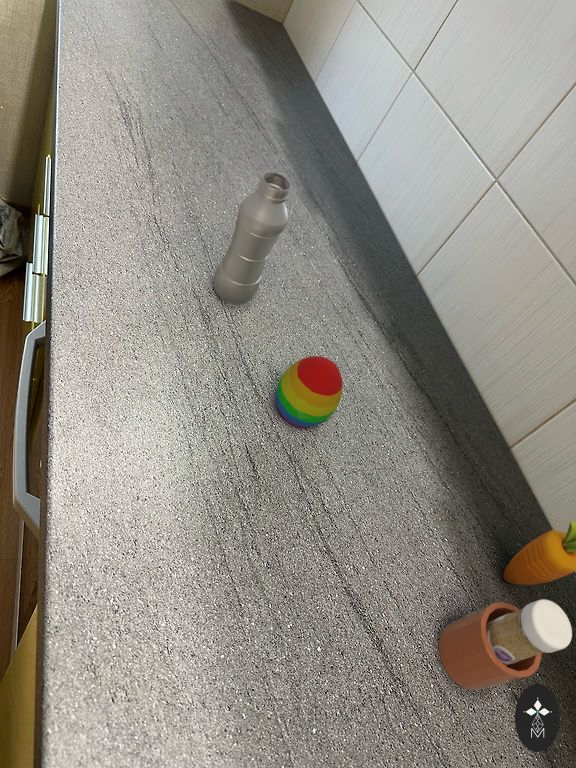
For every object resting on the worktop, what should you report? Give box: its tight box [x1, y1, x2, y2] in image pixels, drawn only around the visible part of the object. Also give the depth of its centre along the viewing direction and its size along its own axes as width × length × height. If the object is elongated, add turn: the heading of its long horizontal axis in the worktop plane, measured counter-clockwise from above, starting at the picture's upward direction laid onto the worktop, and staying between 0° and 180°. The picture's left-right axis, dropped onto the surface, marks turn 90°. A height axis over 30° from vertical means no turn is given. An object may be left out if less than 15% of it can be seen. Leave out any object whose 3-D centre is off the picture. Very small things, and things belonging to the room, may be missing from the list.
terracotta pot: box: [438, 601, 543, 691], centre depth 62 cm, size 7×7×8 cm
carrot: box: [502, 520, 576, 586], centre depth 67 cm, size 5×5×15 cm
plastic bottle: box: [212, 171, 292, 304], centre depth 78 cm, size 6×7×20 cm
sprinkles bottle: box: [486, 599, 573, 666], centre depth 59 cm, size 5×5×13 cm
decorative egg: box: [275, 355, 344, 428], centre depth 73 cm, size 8×8×10 cm
